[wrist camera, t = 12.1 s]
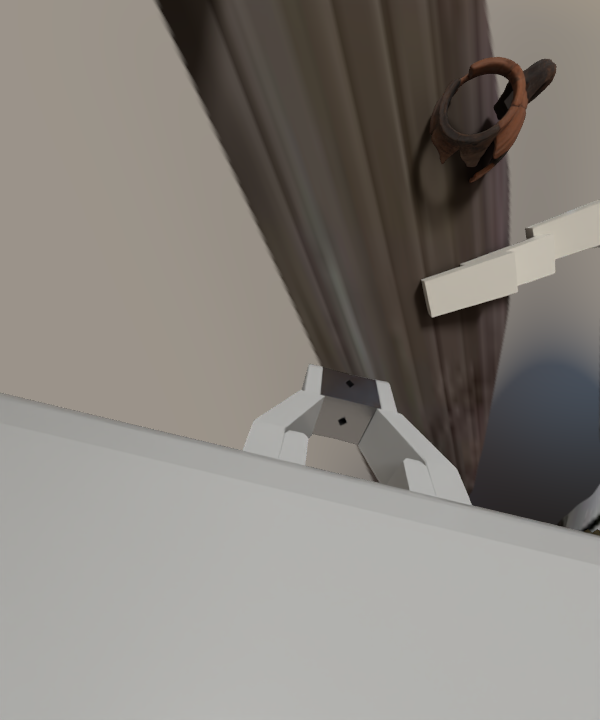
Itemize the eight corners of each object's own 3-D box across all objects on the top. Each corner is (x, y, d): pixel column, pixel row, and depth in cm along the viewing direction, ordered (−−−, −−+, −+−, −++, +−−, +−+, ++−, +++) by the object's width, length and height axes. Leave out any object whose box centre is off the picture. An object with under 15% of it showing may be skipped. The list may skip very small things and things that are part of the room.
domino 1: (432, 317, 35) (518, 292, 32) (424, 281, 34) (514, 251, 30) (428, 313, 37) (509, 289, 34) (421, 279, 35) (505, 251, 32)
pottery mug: (452, 208, 34) (467, 172, 26) (407, 156, 35) (409, 107, 27) (553, 125, 29) (606, 53, 22) (497, 69, 31) (529, -17, 23)
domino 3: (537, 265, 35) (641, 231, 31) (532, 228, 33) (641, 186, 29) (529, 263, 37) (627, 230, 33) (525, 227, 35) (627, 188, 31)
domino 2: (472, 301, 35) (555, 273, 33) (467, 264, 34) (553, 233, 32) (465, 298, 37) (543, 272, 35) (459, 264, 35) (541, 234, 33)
